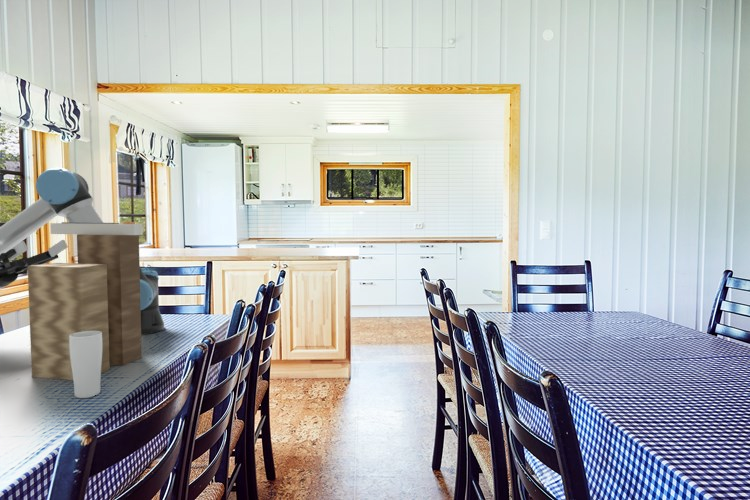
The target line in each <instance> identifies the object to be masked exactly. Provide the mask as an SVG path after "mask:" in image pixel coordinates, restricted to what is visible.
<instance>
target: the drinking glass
mask: <svg viewBox="0 0 750 500" xmlns="http://www.w3.org/2000/svg"><path fill="white" fill-rule="evenodd" d="M102 352H103V340H102V332H100V331H83V332H77V333H73V334H71V335H70V336H69V353H70V361H71V368H72V375H73V380H72V381H73V390H74V391H73V393H74V397H75V398H76V399H88V398H89V399H90V398H93V397H95V395H96V396H98V395H99V394H100V393H101V379H102V373H101V366H102Z"/></svg>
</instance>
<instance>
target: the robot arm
mask: <svg viewBox="0 0 750 500" xmlns="http://www.w3.org/2000/svg"><path fill="white" fill-rule="evenodd" d="M89 188H90V187H89V184H88V181H86V179H85V178H84V176H82V175H80V174H79V173H76V172H73V171H71V170H69V169H66V168H63V167H62V168H61V167H58V168H57V167H55V168H54V167H53V168H50V169H46V170H44V171H42V173H40V174H39V176H38V177H37V179H36V182H35V190H36V192H37V195H38V196H39V197H40V198H38V199H37V200H35V202H33V203H32V204H30V205H29V206H28V207H26V208H25V209H23V210H22V211H20V212H19V213H17V214H16V215H15V216H14V217H12V218H11V219H9V220H8V221H7V222H6V223H4V224H2V225H1V226H0V291H1V290H3V289H4V288H6V287H7V286H9V285H10V284H12V283H14V282H15V281H16V280H17V279H18V278H19V274H20V273H23V272H24V271H25V270H27V271H28V266H31V265H41V264H48V263H50V262H52V261H55V260H56V259H59V255H58V254H60V253H61V252H63V251H64V250H66V249H67V248H69V247H68V244H67V243H66V241H65V239H61V240H60V241H58V242H57V243H55V244H53V245H52V246H51V247H48V248H47V250H46V251H44V252H40V253H38V254H35V255H32V256H29V257H22V258H19V259H16V258H18V257H19V256H21V255H22V254H24V253H25V252H27V251H28V250H29V248H28V246H27V244H26V243H25V239H27V238H29V237H30V236H31V235H33V234H34V233H35V232H37V231H38V230H39V229H41V228H42V227H43V226H45V225H46V224H47V223H49V222H50V221H51V220H53V219H54V218H56V217H59V216H60V217H63V218H65V219H66V221H67V222H80V223H104V221H103V220H102V219H101V217H100V216H99V214H98V212H96V209H94V207H93V202H94V198H93V197H92V194H91V193H90V192H89V191H90V190H89ZM77 235H80V234H77ZM159 279H160V278H159V273H158V271H156V270H142V268H141V267H140V306H141V335H148V334H155V333H158V332H162V331H163V330H164V329H165V322H164V319H163V317H162V314H161V312H160V305H159V303H160V302H159V300H160V299H159Z"/></svg>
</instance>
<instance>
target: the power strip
mask: <svg viewBox="0 0 750 500" xmlns="http://www.w3.org/2000/svg"><path fill="white" fill-rule="evenodd" d="M49 225H50V235H78V234H88V235H139V236H143V224H142V223H136V222H135V221H123V222H122V223H120V222H103V223H80V222H68V221H66V222H65V221H64V222H63V221H62V222H61V223H59V222H58V223H57V222H56V223H55V222H50V223H49Z"/></svg>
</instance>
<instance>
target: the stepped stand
mask: <svg viewBox="0 0 750 500" xmlns="http://www.w3.org/2000/svg"><path fill="white" fill-rule="evenodd" d="M76 247H77V248H76V249H77V263H74V262H54V263H52V262H51V263H45V264H41V265H31V266H28V270H27V282H28V283H27V285H28V287H27V288H28V289H27V290H28V305H29V306H28V307H29V308H28V309H29V310H28V311H29V335H30V336H29V337H30V359H31V360H30V362H31V377H32V378H41V379H42V378H44V379H54V380H66V379H67V380H68V381H69V380H70V381H73V375H72V368H71V361H70V353H69V336H70V335H71V334H73V333H77V332H83V331H100V332H102V340H103V352H102V366H101V374H103V373H105V372H108V371H110V367H111V366H122V367H123V366H126V365H128V364H130V363H133V362H135V361H137V360H140V359H142V358H143V356H142V353H143V351H142V334H141V306H140V268H141V267H140V235H88V234H80V235H78V234H76Z"/></svg>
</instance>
